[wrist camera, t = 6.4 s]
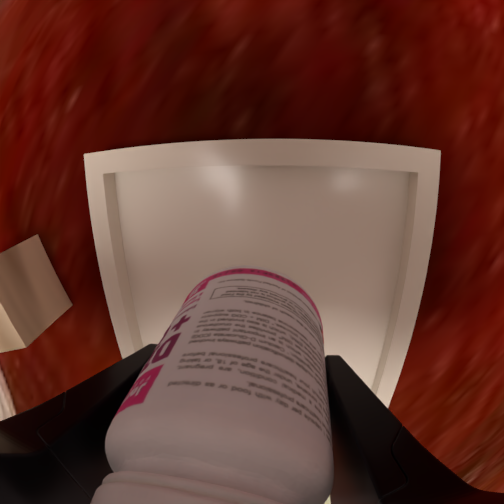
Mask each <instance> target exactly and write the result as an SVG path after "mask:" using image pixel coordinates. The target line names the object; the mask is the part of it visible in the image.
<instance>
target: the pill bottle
mask: <svg viewBox="0 0 504 504" xmlns="http://www.w3.org/2000/svg"><path fill="white" fill-rule="evenodd" d="M105 452H106V456H107V460H108V462H109V465H110V467H111V469H112V470H113V472H114V473H110V474H109V475H107V476H106V477H105V478H104V479H103V481H102V485H101V486H99V487H98V488H97V489H96V491H95V494H94V496H93V498H92V501H91V503H90V504H324V503H325V502H326V500H327V499H328V497H329V495H330V493H331V490H332V487H333V480H334V458H333V444H332V431H331V420H330V409H329V398H328V386H327V376H326V365H325V353H324V337H323V326H322V321H321V317H320V314H319V311H318V308H317V306H316V304H315V302H314V301H313V299H312V297H311V296H310V294H309V293H308V292H307V291H306V290H305V289H304V288H303V287H302V286H301V285H300V284H299V283H297V282H296V281H294V280H293V279H291V278H290V277H288V276H286V275H284V274H282V273H279V272H277V271H275V270H272V269H268V268H264V267H259V266H251V265H240V266H233V267H228V268H224V269H221V270H219V271H216V272H214V273H212V274H210V275H208V276H207V277H205V278H204V279H203V280H201V281H200V282H199V283H198V284H197V285H196V286H195V287H194V288H193V289H192V291H191V292H190V293H189V295H188V296H187V298H186V299H185V301H184V303H183V304H182V306H181V308H180V309H179V311H178V313H177V314H176V316H175V317H174V319H173V321H172V322H171V324H170V326H169V327H168V329H167V330H166V332H165V333H164V335H163V337H162V339H161V340H160V342H159V343H158V345H157V346H156V348H155V350H154V352H153V353H152V355H151V357H150V358H149V360H148V361H147V363H146V364H145V366H144V367H143V369H142V371H141V372H140V374H139V376H138V378H137V380H136V381H135V383H134V385H133V386H132V388H131V389H130V391H129V393H128V394H127V396H126V398H125V399H124V401H123V403H122V404H121V406H120V408H119V410H118V411H117V413H116V415H115V417H114V418H113V420H112V422H111V425H110V427H109V429H108V431H107V434H106V439H105Z"/></svg>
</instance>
